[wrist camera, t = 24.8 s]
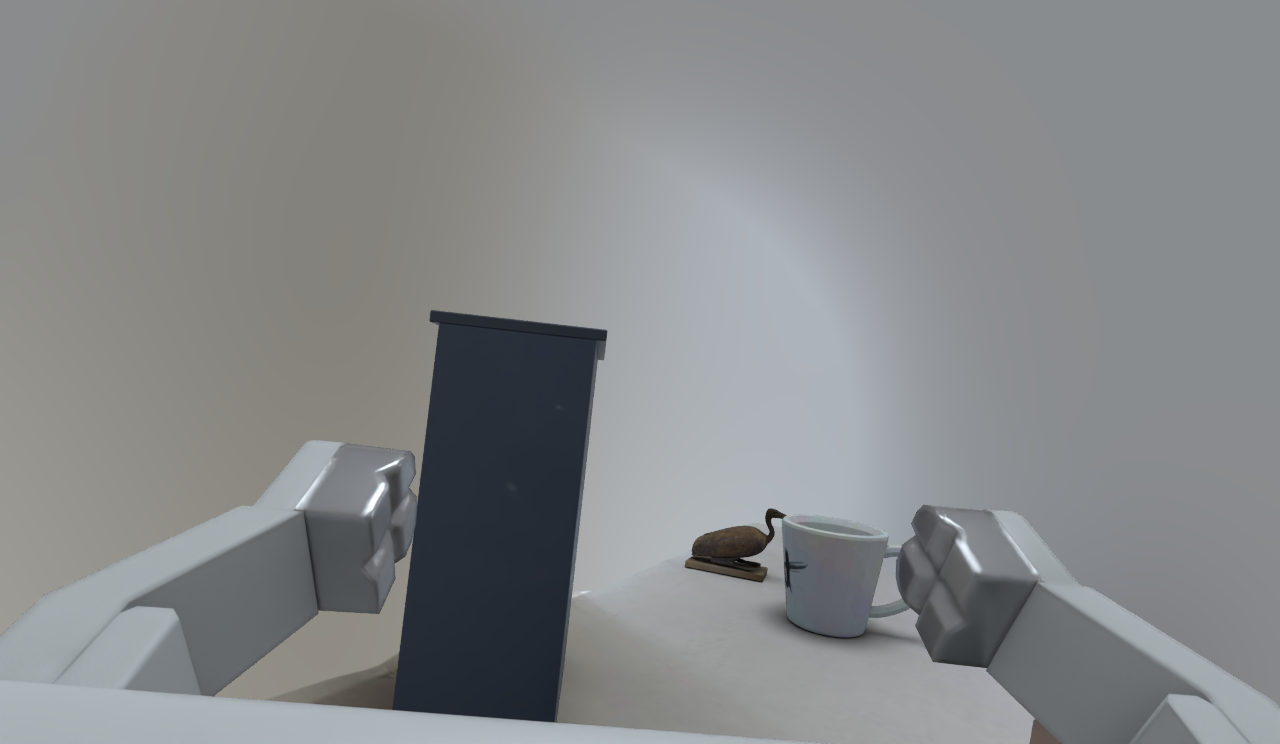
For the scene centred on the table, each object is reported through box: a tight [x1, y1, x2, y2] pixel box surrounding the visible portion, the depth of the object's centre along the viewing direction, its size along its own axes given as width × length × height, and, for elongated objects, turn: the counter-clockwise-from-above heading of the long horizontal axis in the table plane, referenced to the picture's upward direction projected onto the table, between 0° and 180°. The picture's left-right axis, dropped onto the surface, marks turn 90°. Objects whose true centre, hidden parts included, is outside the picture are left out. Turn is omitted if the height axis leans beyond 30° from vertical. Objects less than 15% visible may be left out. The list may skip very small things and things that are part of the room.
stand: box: [393, 310, 607, 723], centre depth 41 cm, size 18×9×24 cm, turn 4°
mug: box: [782, 515, 910, 637], centre depth 64 cm, size 10×15×10 cm
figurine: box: [685, 509, 787, 581], centre depth 80 cm, size 14×4×9 cm, turn 70°
